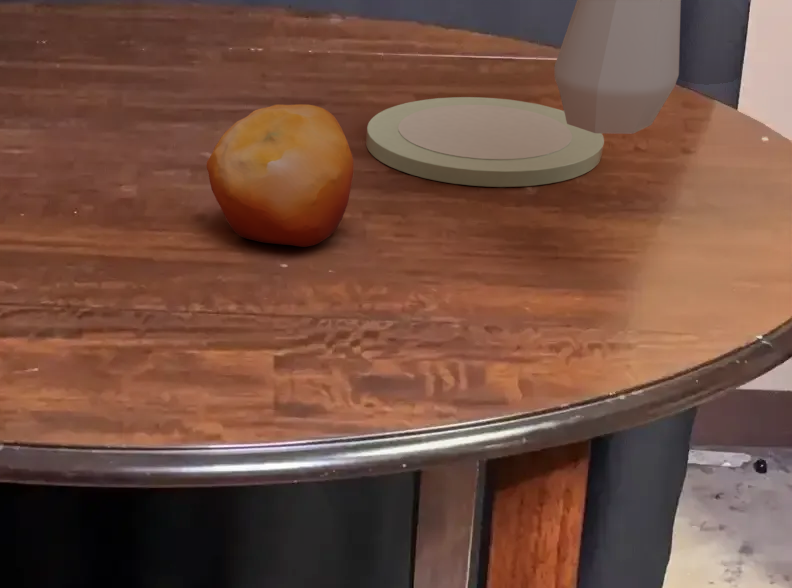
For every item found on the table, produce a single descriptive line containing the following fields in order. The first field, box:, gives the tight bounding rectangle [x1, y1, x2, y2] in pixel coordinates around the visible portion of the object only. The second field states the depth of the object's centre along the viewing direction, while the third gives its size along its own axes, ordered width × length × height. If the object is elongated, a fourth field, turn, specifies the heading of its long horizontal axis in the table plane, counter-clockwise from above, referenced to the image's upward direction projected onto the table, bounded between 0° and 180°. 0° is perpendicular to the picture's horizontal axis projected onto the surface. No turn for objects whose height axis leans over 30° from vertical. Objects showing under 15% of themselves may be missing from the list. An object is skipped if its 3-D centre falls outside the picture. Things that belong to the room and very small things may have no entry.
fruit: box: [206, 103, 355, 248], centre depth 85 cm, size 8×8×8 cm
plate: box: [365, 96, 605, 188], centre depth 98 cm, size 15×15×1 cm
